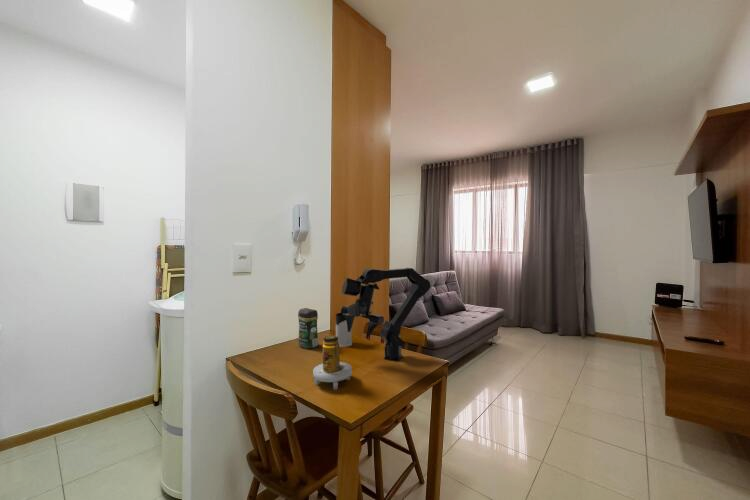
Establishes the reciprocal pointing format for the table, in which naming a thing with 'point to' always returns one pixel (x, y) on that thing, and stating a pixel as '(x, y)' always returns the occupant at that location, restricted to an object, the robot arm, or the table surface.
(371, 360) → the table surface
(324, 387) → the table surface
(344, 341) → the glass holder
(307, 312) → the coffee jar
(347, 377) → the round white stand
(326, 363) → the condiment
